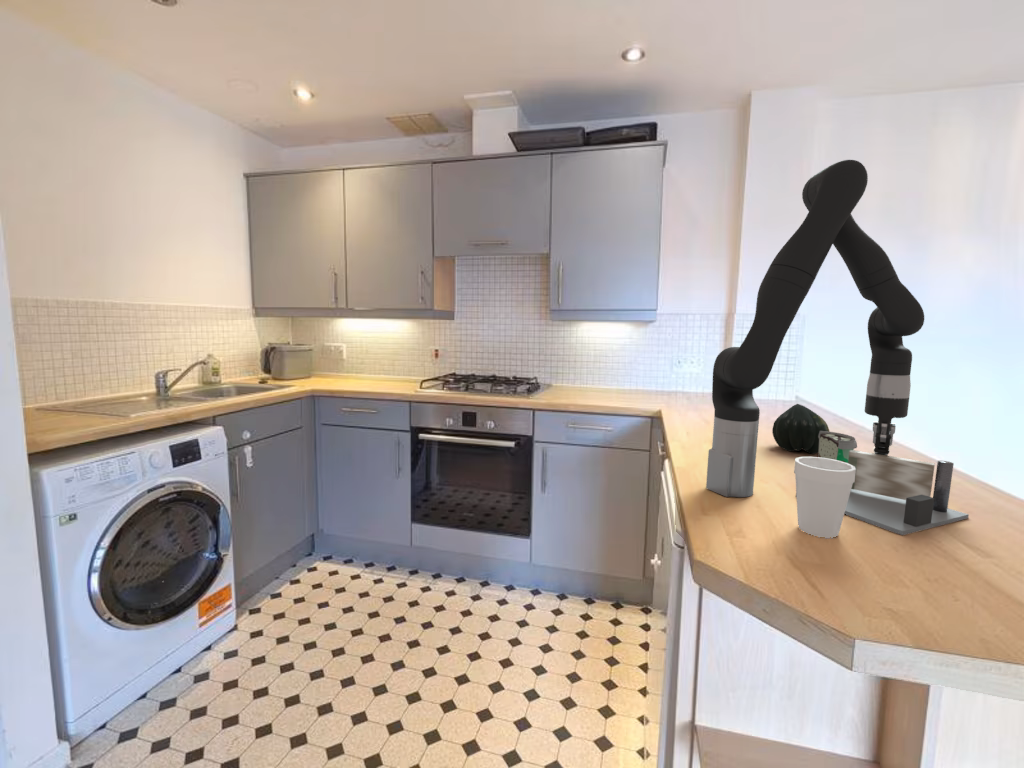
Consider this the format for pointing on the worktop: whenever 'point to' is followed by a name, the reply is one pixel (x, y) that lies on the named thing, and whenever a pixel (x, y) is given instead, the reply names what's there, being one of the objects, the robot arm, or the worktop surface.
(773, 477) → the worktop surface
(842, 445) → the food container
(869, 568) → the worktop surface
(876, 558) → the worktop surface
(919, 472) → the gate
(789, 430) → the squash
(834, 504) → the foam cup
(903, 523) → the plaque display stand
